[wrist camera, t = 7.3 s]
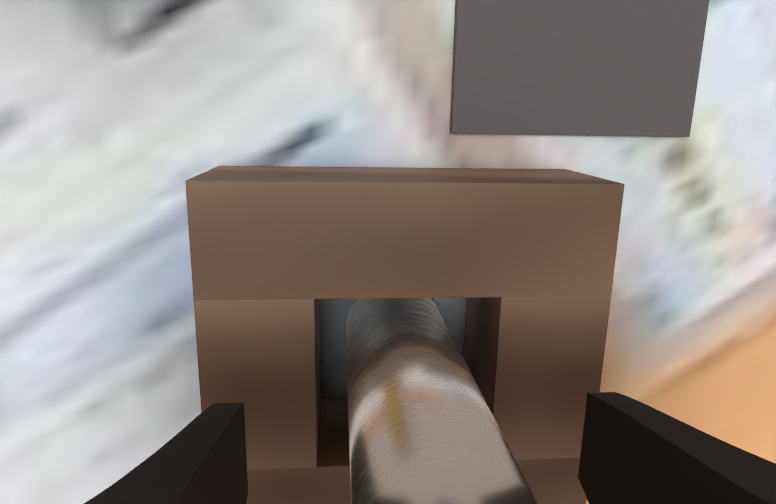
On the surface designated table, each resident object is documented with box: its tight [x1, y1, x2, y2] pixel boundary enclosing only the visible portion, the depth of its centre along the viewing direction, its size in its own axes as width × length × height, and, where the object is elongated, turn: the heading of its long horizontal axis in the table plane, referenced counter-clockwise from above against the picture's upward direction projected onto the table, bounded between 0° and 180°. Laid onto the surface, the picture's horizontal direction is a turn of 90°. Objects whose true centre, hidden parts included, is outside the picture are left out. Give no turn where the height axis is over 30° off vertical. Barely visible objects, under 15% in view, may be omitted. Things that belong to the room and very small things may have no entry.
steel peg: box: [345, 298, 538, 504], centre depth 13 cm, size 3×3×9 cm
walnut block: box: [186, 166, 624, 504], centre depth 16 cm, size 10×10×4 cm
